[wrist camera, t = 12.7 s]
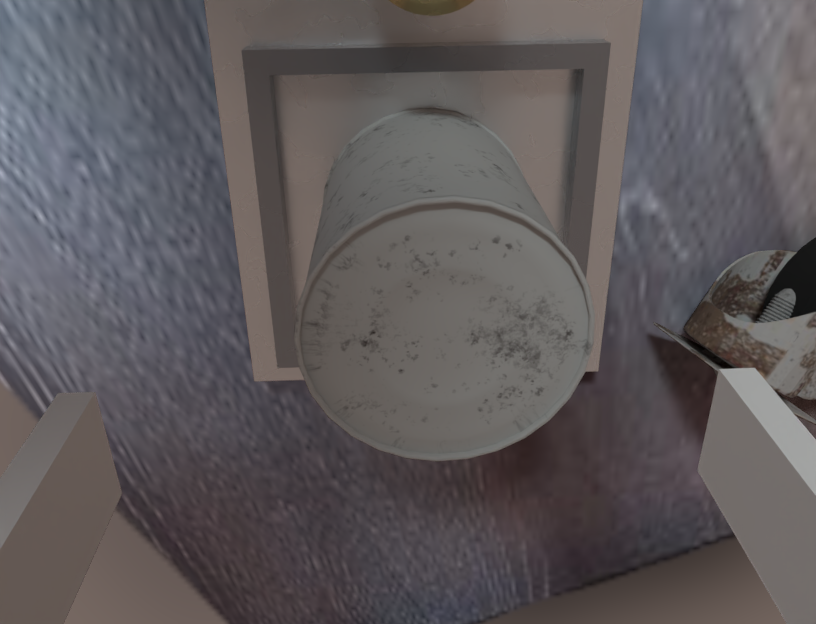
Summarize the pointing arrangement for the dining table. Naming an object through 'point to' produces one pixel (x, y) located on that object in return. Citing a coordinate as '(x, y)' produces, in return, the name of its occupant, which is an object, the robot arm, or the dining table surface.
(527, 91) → the carrier plate
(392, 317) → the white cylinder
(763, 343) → the caster wheel
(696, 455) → the dining table surface
